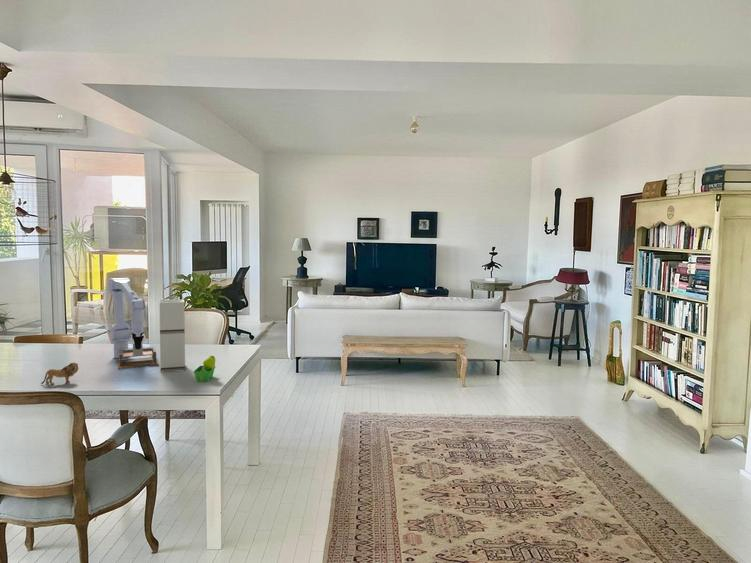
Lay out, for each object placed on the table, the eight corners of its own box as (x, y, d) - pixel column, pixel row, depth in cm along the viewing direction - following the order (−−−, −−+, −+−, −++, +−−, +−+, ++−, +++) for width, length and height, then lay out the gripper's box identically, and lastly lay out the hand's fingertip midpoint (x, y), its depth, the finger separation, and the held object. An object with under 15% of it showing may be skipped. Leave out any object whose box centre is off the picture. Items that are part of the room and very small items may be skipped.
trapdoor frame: (117, 361, 266) (116, 349, 266) (156, 358, 275) (156, 346, 275) (117, 369, 251) (117, 356, 250) (159, 365, 260) (158, 353, 259)
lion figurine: (79, 379, 231) (78, 361, 231) (78, 382, 227) (77, 363, 226) (41, 383, 224) (40, 364, 224) (39, 386, 220) (39, 366, 219)
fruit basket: (200, 375, 243) (199, 353, 242) (218, 375, 243) (218, 353, 242) (193, 382, 231) (192, 358, 231) (212, 382, 232) (212, 358, 231)
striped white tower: (184, 365, 262) (184, 299, 259) (185, 370, 252) (184, 301, 249) (161, 366, 257) (160, 299, 255) (160, 372, 248) (159, 302, 245)
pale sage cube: (132, 353, 262) (132, 343, 261) (142, 352, 264) (142, 343, 263) (133, 355, 258) (133, 346, 257) (142, 354, 260) (142, 345, 259)
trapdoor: (122, 354, 264) (122, 348, 264) (151, 352, 271) (151, 346, 270) (123, 360, 256) (123, 354, 255) (152, 357, 262) (152, 351, 262)
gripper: (128, 320, 264) (128, 345, 265) (129, 324, 251) (129, 351, 252) (142, 319, 267) (143, 344, 268) (144, 324, 254) (145, 350, 256)
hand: (137, 347), depth 261 cm, fingers open, 7 cm apart
